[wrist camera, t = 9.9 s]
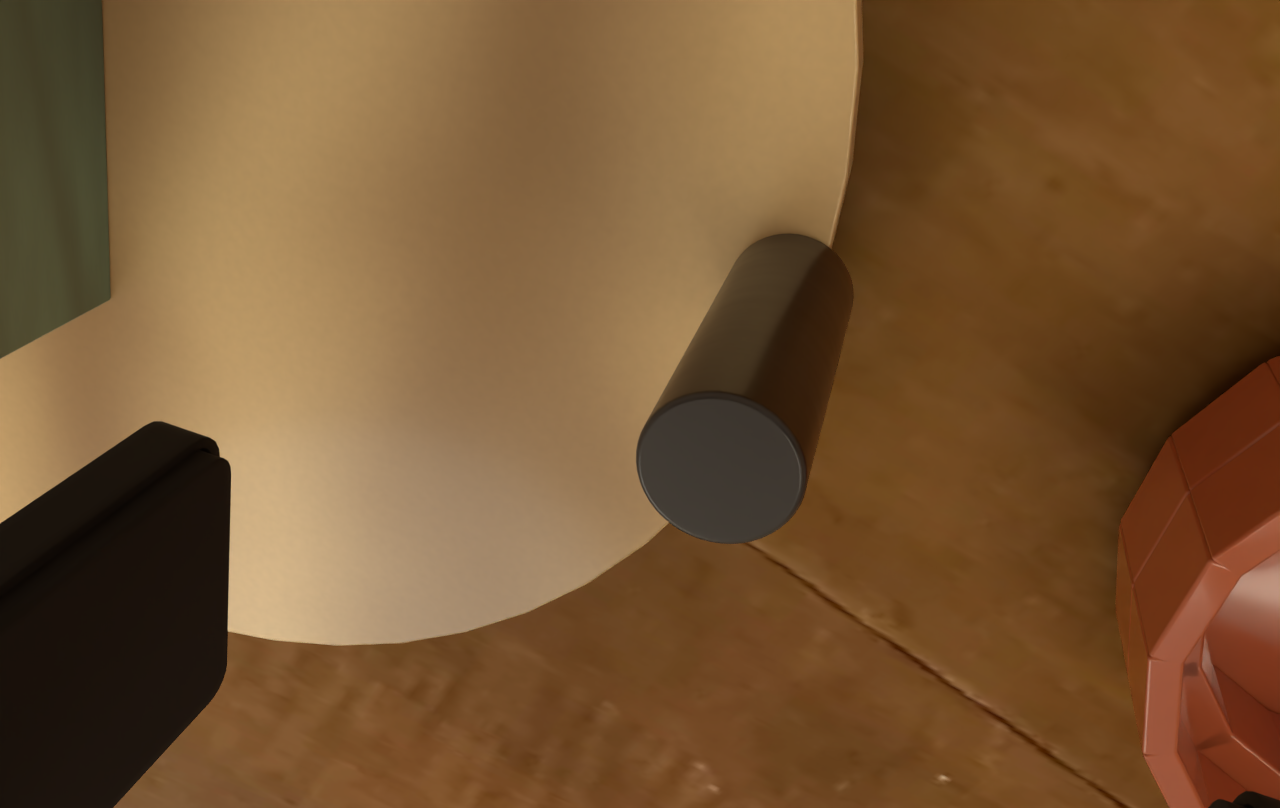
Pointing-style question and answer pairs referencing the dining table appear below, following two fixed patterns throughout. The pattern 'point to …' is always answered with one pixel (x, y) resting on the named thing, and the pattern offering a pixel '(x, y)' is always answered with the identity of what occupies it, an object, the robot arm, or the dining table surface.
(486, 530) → the dish rack
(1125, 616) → the bowl
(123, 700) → the robot arm
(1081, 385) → the dining table surface
